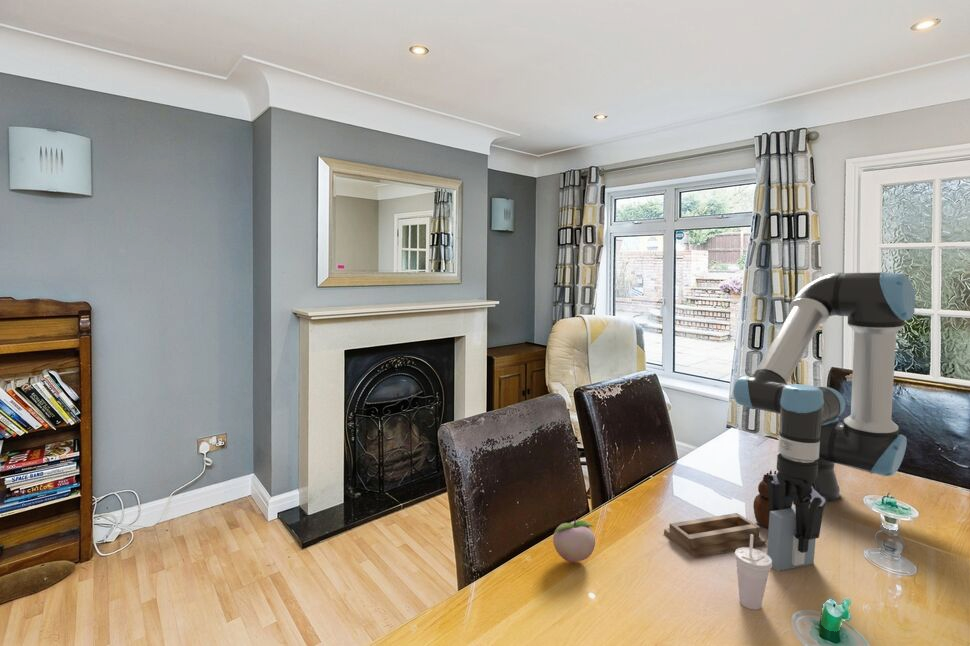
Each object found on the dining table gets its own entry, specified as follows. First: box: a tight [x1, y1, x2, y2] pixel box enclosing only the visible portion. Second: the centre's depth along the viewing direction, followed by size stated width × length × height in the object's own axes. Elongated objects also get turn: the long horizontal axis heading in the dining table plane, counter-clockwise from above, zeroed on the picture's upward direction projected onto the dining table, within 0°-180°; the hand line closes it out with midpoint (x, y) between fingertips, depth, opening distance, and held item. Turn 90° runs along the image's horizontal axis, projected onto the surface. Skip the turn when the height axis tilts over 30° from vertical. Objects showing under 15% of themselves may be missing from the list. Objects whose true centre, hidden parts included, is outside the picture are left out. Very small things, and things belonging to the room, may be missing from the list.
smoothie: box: [733, 534, 773, 610], centre depth 94 cm, size 6×6×14 cm
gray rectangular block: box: [766, 507, 817, 572], centre depth 107 cm, size 10×3×12 cm, turn 106°
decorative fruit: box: [552, 518, 596, 563], centre depth 107 cm, size 9×8×10 cm
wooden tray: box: [663, 512, 767, 558], centre depth 118 cm, size 20×11×3 cm, turn 106°
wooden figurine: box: [752, 470, 777, 529], centre depth 124 cm, size 7×6×15 cm
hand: (790, 558), depth 108 cm, fingers closed on gray rectangular block, 3 cm apart
